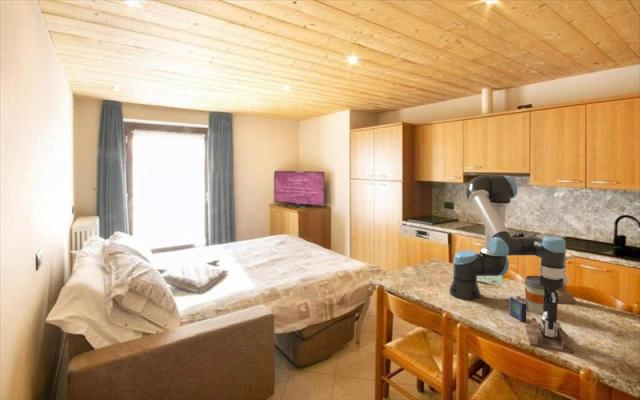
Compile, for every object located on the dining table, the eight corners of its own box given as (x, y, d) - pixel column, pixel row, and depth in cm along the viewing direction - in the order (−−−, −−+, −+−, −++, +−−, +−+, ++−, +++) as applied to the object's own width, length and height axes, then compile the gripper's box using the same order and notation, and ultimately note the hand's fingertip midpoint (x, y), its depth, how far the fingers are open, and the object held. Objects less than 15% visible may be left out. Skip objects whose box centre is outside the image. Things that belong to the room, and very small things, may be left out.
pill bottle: (541, 329, 132) (542, 309, 132) (555, 332, 130) (556, 312, 129) (541, 334, 129) (542, 314, 128) (555, 337, 126) (557, 317, 125)
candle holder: (576, 304, 161) (579, 257, 159) (551, 302, 164) (554, 256, 161) (564, 295, 172) (567, 251, 170) (541, 294, 174) (544, 251, 172)
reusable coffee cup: (545, 318, 147) (547, 286, 146) (517, 307, 158) (519, 278, 157) (560, 312, 153) (562, 281, 152) (532, 302, 164) (534, 273, 163)
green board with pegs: (477, 270, 217) (478, 257, 216) (511, 277, 202) (512, 263, 201) (461, 279, 201) (461, 265, 200) (496, 288, 185) (497, 272, 184)
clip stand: (575, 353, 119) (575, 342, 119) (530, 345, 125) (530, 334, 125) (564, 333, 133) (565, 323, 133) (525, 326, 140) (525, 316, 139)
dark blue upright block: (507, 313, 152) (508, 292, 151) (513, 313, 152) (514, 291, 151) (522, 323, 143) (523, 300, 142) (528, 322, 143) (529, 299, 142)
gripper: (569, 285, 117) (565, 346, 120) (558, 271, 133) (555, 324, 135) (544, 282, 120) (540, 341, 123) (536, 268, 136) (533, 321, 139)
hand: (548, 332), depth 129 cm, fingers closed on pill bottle, 5 cm apart
